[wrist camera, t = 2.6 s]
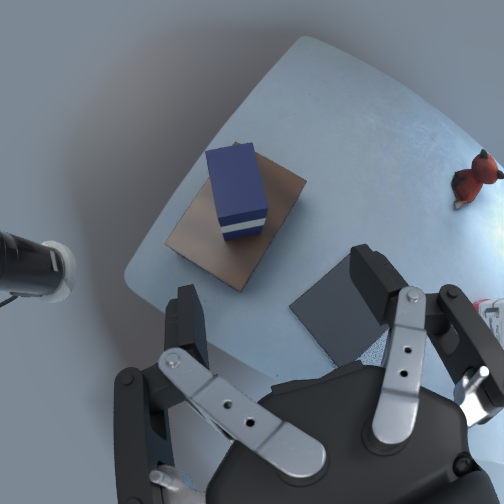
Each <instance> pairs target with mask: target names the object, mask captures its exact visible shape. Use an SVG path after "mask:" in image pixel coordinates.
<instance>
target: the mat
mask: <svg viewBox="0 0 504 504" xmlns="http://www.w3.org/2000/svg"><path fill="white" fill-rule="evenodd" d="M349 267H350V254H349V255H348V256H347V257H345V258H344V259H343V260H342V261H341V262H340V263H339V264H338V265H337V266H335V267H334V268H333V269H332V270H331V271H330V272H329V273H328V274H326V275H325V276H324V277H323V278H322V279H321V280H320V281H318V282H317V283H316V284H315V285H314V286H313V287H311V288H310V289H309V290H308V291H307V292H306V293H304V294H303V295H302V296H301V297H300V298H298V299H297V300H296V301H295V302H294V303H293V304H291V305H290V306H289V307H290V308H291V310H292V311H293V312H294V313H295V315H296V316H297V317H298V318H299V320H300V321H301V322H302V323H303V324H304V326H305V327H306V328H307V329H308V331H309V332H310V333H311V334H312V335H313V337H314V338H315V339H316V340H317V342H318V343H319V344H320V345H321V346H322V348H323V349H324V350H325V351H326V353H327V354H328V355H329V356H330V357H331V359H332V360H333V361H334V362H335V364H336V365H337V366H338V367H340V366H343V365H346V364H349V363H352V362H354V361H355V360H356V359H357V358H358V357H359V356H360V355H361V354H362V353H363V352H365V351H366V350H367V349H368V348H369V347H370V346H371V345H372V344H373V343H374V342H375V341H376V340H377V339H378V338H379V337H380V336H381V335H382V334H383V333H384V332H385V331H386V330H387V329H388V328H389V325H388V324H385V325H383V326H380V325H379V324H378V322H377V320H376V319H375V317H374V315H373V314H372V312H371V311H370V309H369V307H368V306H367V304H366V303H365V301H364V299H363V298H362V296H361V295H360V293H359V291H358V290H357V288H356V287H355V285H354V284H353V282H352V280H351V278H350V273H349Z"/></svg>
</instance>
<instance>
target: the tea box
mask: <svg viewBox="0 0 504 504" xmlns="http://www.w3.org/2000/svg"><path fill="white" fill-rule="evenodd" d="M205 153H206V159H207V164H208V170H209V175H210V180H211V186H212V191H213V196H214V202H215V207H216V212H217V217H218V221H219V224H220V228H221V232H222V234H223V238H224V241H226V240H231V239H236V238H241V237H245V236H250V235H255V234H260V233H262V229H263V226H264V223H265V219H266V215H267V212H268V208H269V207H268V203H267V199H266V195H265V191H264V187H263V183H262V179H261V175H260V171H259V167H258V163H257V159H256V155H255V151H254V147H253V143H246V144H240V145H234V146H229V147H224V148H218V149H213V150H209V151H205Z"/></svg>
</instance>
